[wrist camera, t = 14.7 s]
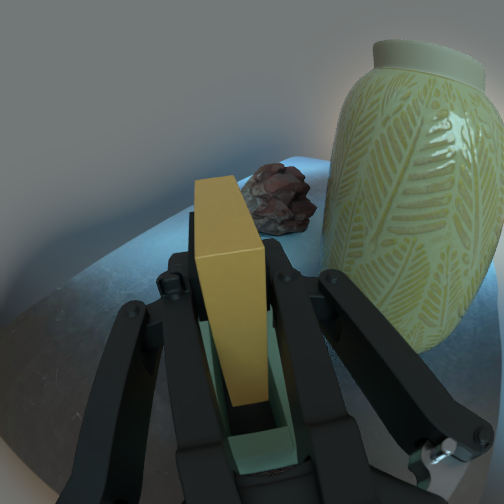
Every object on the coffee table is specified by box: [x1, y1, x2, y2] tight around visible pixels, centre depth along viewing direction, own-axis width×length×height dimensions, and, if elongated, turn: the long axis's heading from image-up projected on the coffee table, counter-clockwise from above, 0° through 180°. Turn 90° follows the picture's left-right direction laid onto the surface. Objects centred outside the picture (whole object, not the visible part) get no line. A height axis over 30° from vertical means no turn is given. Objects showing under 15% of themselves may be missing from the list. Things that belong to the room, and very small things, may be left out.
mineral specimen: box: [241, 163, 317, 235], centre depth 43 cm, size 12×13×15 cm
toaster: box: [198, 304, 298, 475], centre depth 19 cm, size 14×9×7 cm, turn 11°
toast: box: [194, 175, 268, 407], centre depth 13 cm, size 7×2×10 cm, turn 11°
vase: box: [319, 40, 504, 355], centre depth 20 cm, size 17×17×27 cm
